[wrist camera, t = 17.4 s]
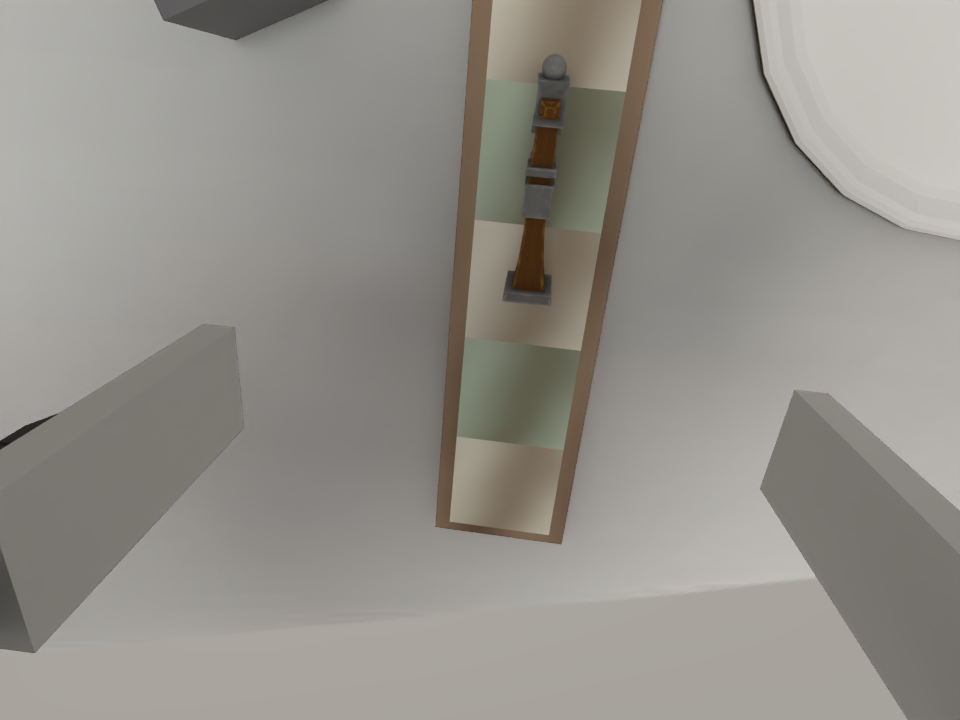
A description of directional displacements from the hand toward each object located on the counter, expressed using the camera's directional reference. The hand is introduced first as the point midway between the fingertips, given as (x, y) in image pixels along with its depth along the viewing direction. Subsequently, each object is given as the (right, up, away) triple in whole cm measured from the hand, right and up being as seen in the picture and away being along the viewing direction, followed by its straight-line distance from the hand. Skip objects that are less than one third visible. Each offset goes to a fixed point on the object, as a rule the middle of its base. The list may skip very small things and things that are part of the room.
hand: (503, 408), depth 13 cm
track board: (+2, +5, +10) cm, 11 cm away
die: (-8, +16, +7) cm, 19 cm away
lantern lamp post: (+1, +4, +9) cm, 10 cm away
